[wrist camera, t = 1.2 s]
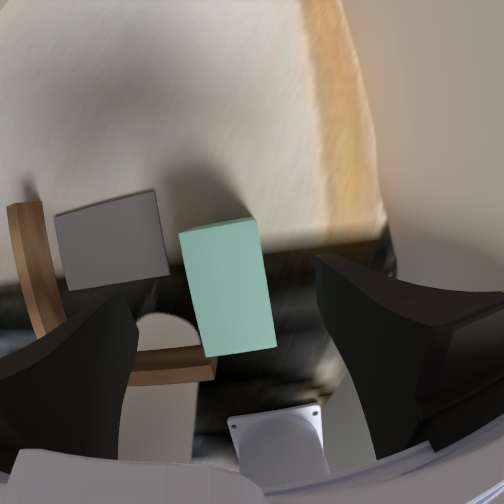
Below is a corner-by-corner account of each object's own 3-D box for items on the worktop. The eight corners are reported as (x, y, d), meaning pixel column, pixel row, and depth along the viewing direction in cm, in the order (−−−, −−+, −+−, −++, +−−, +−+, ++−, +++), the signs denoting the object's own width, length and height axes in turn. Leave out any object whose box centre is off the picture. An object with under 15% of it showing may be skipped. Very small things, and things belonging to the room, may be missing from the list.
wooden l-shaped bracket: (218, 356, 23) (214, 379, 19) (74, 367, 23) (56, 385, 19) (179, 163, 20) (167, 155, 17) (32, 205, 20) (6, 206, 17)
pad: (170, 273, 22) (169, 274, 21) (70, 290, 22) (69, 291, 21) (155, 191, 21) (153, 191, 20) (55, 217, 21) (53, 217, 20)
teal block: (268, 311, 22) (277, 346, 16) (215, 319, 22) (206, 357, 16) (252, 216, 21) (256, 219, 15) (196, 226, 21) (178, 233, 15)
